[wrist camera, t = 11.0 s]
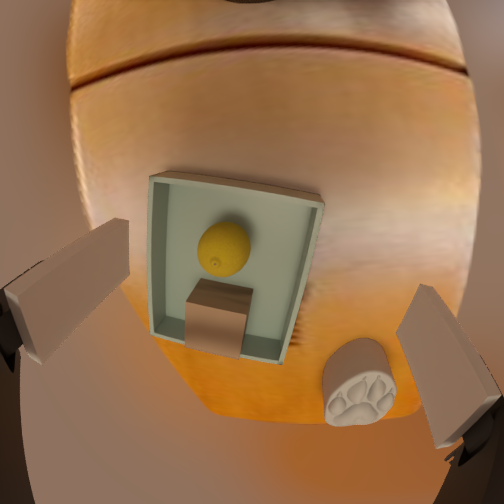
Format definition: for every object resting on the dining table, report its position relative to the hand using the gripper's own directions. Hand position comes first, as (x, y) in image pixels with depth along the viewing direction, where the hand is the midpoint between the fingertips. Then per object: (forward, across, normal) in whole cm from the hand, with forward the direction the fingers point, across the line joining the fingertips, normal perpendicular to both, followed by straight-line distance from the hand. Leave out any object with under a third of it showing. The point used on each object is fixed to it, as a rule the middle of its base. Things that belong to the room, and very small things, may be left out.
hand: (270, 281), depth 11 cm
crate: (+21, -5, -11) cm, 24 cm away
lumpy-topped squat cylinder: (+21, +17, -24) cm, 37 cm away
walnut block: (+21, -5, -17) cm, 27 cm away
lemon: (+21, -5, -7) cm, 23 cm away
